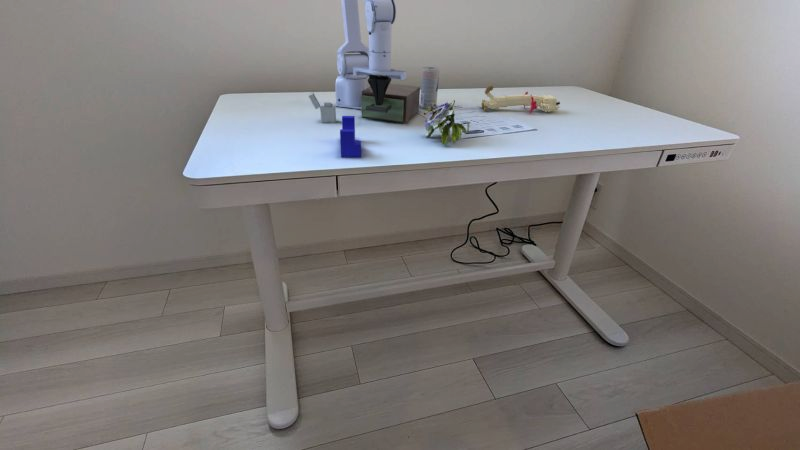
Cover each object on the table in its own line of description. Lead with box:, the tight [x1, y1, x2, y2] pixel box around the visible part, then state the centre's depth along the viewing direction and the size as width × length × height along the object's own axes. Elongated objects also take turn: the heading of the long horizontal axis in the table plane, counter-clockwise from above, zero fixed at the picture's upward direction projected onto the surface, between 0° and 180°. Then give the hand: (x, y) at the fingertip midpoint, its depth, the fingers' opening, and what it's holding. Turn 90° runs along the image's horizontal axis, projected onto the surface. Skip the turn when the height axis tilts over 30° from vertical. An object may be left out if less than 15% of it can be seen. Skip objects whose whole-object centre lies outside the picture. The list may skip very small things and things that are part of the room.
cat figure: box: [481, 84, 561, 114], centre depth 127 cm, size 10×9×25 cm
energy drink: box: [419, 66, 440, 110], centre depth 126 cm, size 5×5×12 cm
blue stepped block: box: [339, 115, 362, 158], centre depth 92 cm, size 12×4×6 cm, turn 5°
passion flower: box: [423, 99, 471, 147], centre depth 100 cm, size 11×11×12 cm
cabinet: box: [361, 83, 421, 124], centre depth 117 cm, size 14×14×8 cm
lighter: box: [307, 91, 337, 124], centre depth 109 cm, size 7×2×8 cm, turn 98°
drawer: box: [360, 95, 404, 122], centre depth 114 cm, size 17×12×6 cm
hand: (379, 104), depth 108 cm, fingers closed
